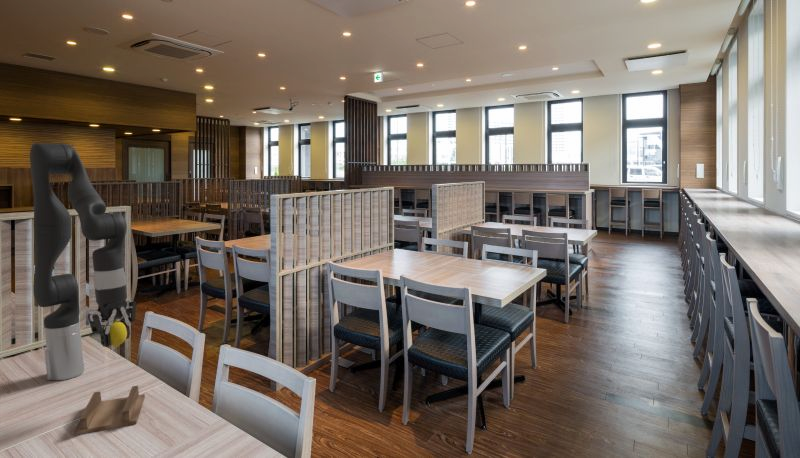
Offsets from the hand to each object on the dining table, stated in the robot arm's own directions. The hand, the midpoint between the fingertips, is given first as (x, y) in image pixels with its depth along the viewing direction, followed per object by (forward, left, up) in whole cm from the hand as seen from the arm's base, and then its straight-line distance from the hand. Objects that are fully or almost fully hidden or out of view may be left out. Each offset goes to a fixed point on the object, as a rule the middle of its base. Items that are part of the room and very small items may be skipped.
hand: (116, 342), depth 131 cm
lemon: (0, 0, -2) cm, 2 cm away
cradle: (-1, -7, -18) cm, 20 cm away
